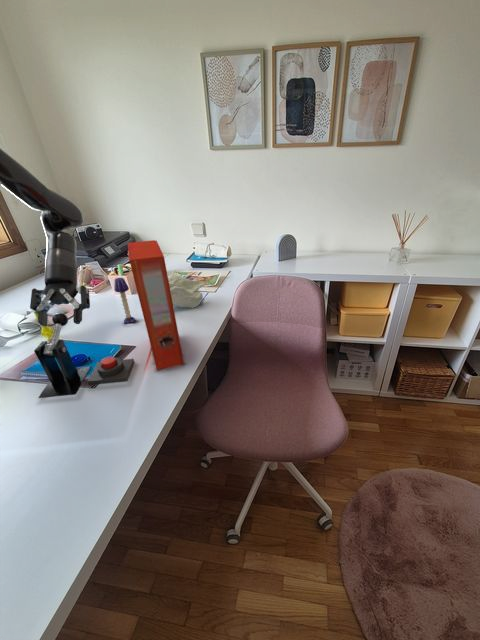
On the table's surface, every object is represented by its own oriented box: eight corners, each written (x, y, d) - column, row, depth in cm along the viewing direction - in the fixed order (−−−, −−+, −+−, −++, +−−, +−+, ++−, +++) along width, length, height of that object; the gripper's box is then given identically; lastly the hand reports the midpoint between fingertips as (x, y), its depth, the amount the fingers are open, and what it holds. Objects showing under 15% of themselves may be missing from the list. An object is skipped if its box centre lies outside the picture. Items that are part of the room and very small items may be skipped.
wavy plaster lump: (192, 315, 130) (201, 280, 128) (198, 320, 119) (208, 282, 116) (149, 305, 123) (157, 267, 120) (151, 310, 111) (160, 268, 108)
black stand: (59, 372, 87) (41, 334, 80) (92, 369, 88) (76, 331, 81) (40, 400, 77) (16, 360, 70) (77, 397, 78) (57, 356, 71)
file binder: (176, 336, 103) (156, 239, 85) (185, 364, 89) (163, 255, 71) (151, 341, 100) (126, 242, 82) (157, 370, 87) (127, 260, 69)
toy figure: (47, 336, 104) (31, 304, 98) (58, 334, 105) (44, 302, 99) (45, 345, 99) (28, 313, 92) (57, 343, 100) (42, 310, 94)
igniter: (101, 369, 81) (98, 364, 80) (104, 362, 84) (103, 357, 83) (114, 368, 82) (112, 363, 81) (118, 361, 85) (116, 355, 84)
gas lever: (58, 319, 84) (51, 310, 81) (71, 318, 84) (65, 309, 81) (46, 359, 77) (38, 352, 74) (61, 358, 77) (54, 351, 74)
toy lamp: (132, 317, 115) (119, 275, 106) (140, 320, 113) (128, 277, 104) (121, 323, 111) (108, 280, 102) (130, 326, 109) (117, 282, 100)
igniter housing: (89, 387, 81) (84, 376, 79) (100, 367, 88) (95, 356, 86) (128, 384, 82) (124, 372, 80) (135, 364, 89) (131, 353, 87)
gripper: (25, 264, 80) (22, 322, 77) (81, 261, 81) (81, 318, 78) (42, 276, 87) (41, 330, 84) (94, 273, 89) (94, 326, 86)
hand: (60, 324), depth 81 cm, fingers open, 8 cm apart
